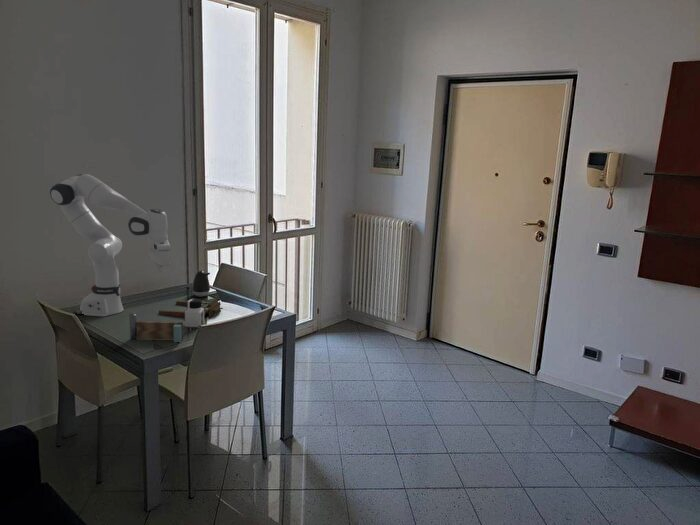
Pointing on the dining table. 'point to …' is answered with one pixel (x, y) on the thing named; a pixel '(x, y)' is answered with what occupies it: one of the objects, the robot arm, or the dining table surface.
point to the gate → (156, 330)
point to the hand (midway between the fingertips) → (159, 270)
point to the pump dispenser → (201, 284)
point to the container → (194, 313)
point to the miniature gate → (208, 307)
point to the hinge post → (133, 326)
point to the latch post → (177, 332)
